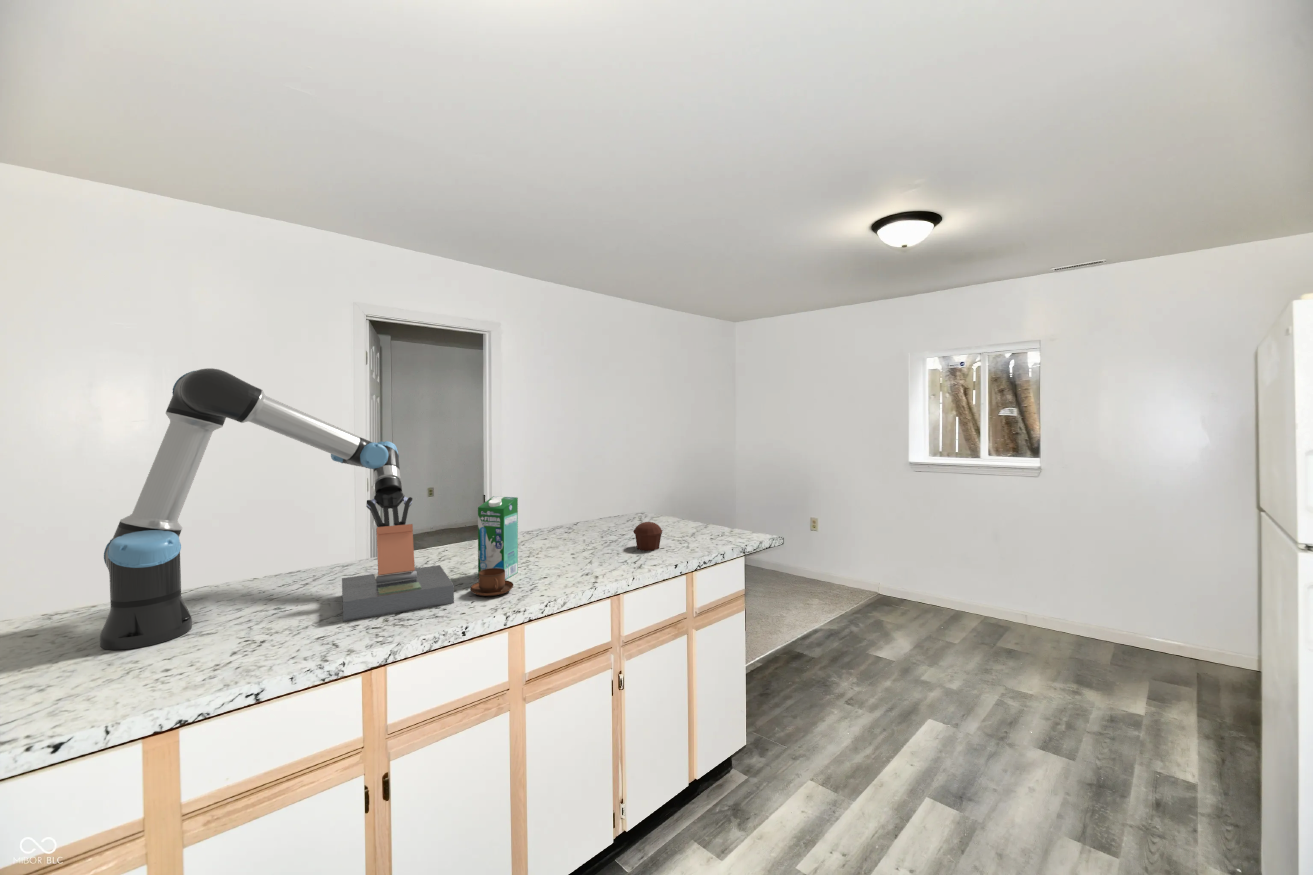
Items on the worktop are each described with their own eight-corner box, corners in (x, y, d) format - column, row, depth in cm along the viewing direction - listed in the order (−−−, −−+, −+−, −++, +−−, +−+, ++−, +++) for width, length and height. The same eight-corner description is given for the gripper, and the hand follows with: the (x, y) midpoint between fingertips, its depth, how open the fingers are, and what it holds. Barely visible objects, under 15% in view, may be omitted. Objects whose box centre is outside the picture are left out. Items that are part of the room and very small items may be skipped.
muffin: (650, 542, 213) (650, 518, 213) (668, 548, 205) (668, 523, 204) (627, 547, 205) (627, 522, 205) (644, 553, 197) (645, 527, 197)
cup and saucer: (521, 591, 153) (521, 571, 153) (485, 602, 144) (485, 580, 144) (497, 583, 161) (497, 563, 160) (462, 593, 151) (462, 572, 151)
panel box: (342, 595, 148) (341, 577, 148) (439, 580, 162) (439, 564, 161) (343, 621, 129) (343, 600, 129) (453, 602, 143) (453, 583, 143)
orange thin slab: (376, 584, 144) (374, 529, 147) (415, 578, 149) (413, 525, 153) (377, 583, 141) (375, 527, 145) (417, 577, 146) (414, 523, 150)
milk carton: (477, 578, 164) (477, 499, 163) (493, 570, 173) (493, 495, 172) (503, 580, 162) (503, 501, 161) (518, 572, 171) (517, 496, 170)
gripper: (409, 489, 171) (417, 550, 158) (364, 491, 164) (367, 556, 151) (411, 474, 166) (419, 536, 153) (364, 476, 159) (368, 542, 146)
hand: (393, 546), depth 152 cm, fingers closed
